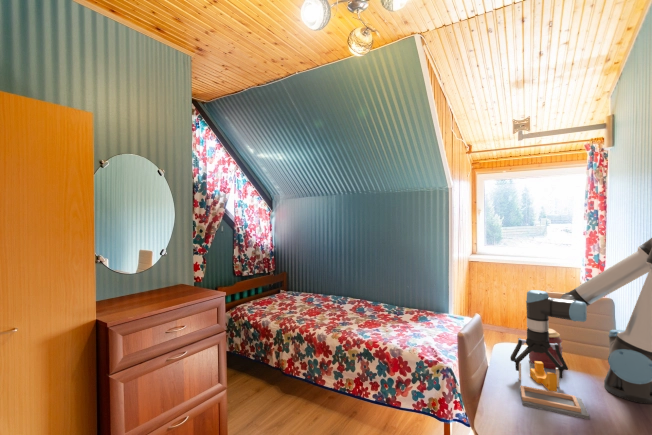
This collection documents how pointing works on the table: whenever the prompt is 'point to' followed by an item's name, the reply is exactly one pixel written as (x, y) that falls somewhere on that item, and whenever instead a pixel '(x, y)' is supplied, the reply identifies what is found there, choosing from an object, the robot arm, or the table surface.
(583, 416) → the holder board
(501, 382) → the table surface
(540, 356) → the canister
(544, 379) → the pipe clamp
